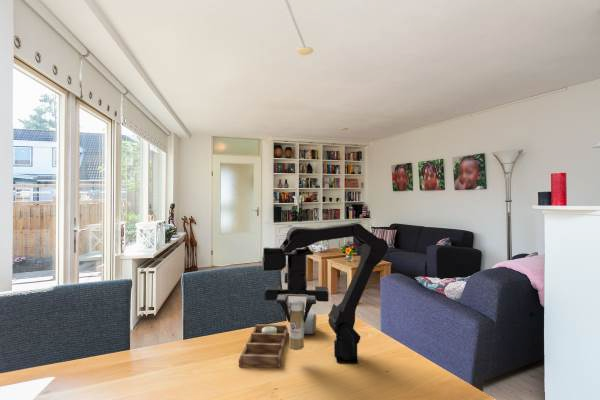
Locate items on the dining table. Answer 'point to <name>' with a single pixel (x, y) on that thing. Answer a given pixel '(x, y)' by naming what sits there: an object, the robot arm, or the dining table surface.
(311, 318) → the ceramic mug
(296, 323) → the sprinkles bottle
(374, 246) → the robot arm
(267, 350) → the rack
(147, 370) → the dining table surface
